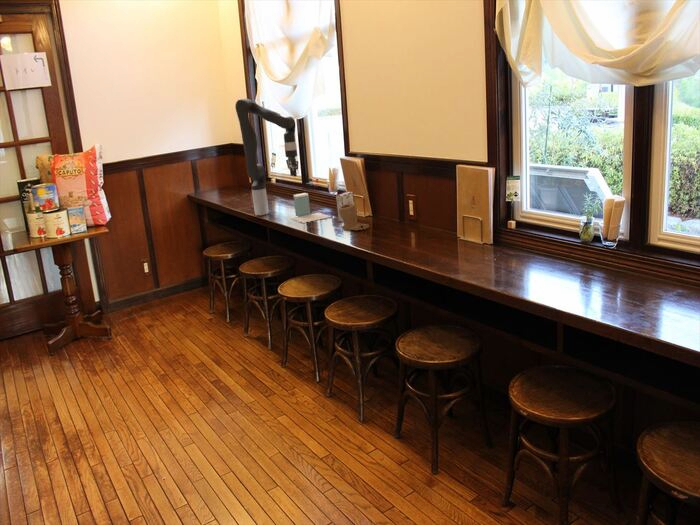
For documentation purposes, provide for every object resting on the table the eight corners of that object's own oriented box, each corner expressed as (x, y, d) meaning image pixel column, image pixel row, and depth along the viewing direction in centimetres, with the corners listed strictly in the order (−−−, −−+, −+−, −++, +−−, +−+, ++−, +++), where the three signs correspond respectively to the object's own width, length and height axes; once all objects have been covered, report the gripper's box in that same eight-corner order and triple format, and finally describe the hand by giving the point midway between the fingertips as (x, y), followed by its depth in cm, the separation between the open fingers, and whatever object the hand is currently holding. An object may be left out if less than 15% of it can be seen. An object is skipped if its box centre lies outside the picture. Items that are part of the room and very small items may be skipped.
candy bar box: (349, 217, 385) (346, 191, 380) (355, 218, 382) (353, 191, 377) (338, 221, 376) (335, 195, 372) (344, 222, 373) (342, 195, 369)
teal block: (295, 216, 402) (293, 195, 398) (306, 214, 405) (304, 192, 401) (299, 217, 397) (296, 195, 393) (310, 215, 401) (308, 193, 397)
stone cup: (336, 230, 356) (333, 205, 351) (350, 226, 364) (348, 200, 359) (355, 233, 345) (353, 207, 341) (369, 228, 353) (367, 203, 349)
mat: (291, 219, 394) (291, 218, 394) (318, 213, 404) (318, 212, 403) (303, 223, 380) (302, 222, 380) (331, 217, 389) (331, 216, 389)
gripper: (280, 149, 400) (283, 175, 405) (290, 150, 388) (293, 178, 393) (291, 147, 403) (294, 174, 408) (300, 149, 391) (303, 176, 396)
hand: (293, 175), depth 400 cm, fingers open, 3 cm apart
